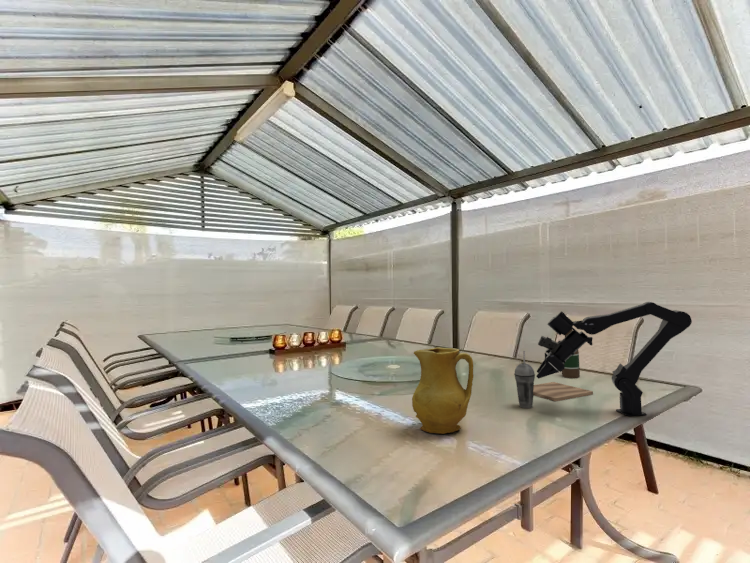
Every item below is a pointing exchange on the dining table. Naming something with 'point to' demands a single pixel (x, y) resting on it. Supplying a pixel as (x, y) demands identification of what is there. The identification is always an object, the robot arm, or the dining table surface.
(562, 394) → the walnut board
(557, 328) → the robot arm
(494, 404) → the dining table surface
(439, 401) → the pitcher
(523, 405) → the beverage cup
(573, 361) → the beer bottle
